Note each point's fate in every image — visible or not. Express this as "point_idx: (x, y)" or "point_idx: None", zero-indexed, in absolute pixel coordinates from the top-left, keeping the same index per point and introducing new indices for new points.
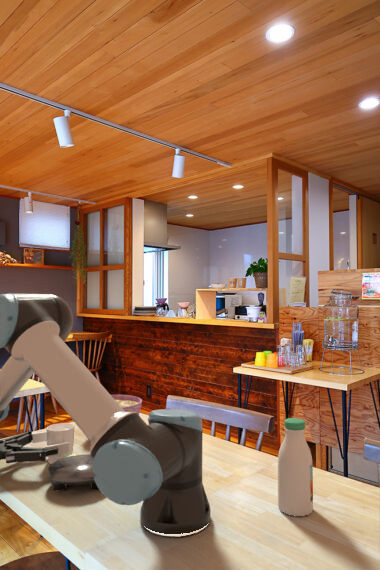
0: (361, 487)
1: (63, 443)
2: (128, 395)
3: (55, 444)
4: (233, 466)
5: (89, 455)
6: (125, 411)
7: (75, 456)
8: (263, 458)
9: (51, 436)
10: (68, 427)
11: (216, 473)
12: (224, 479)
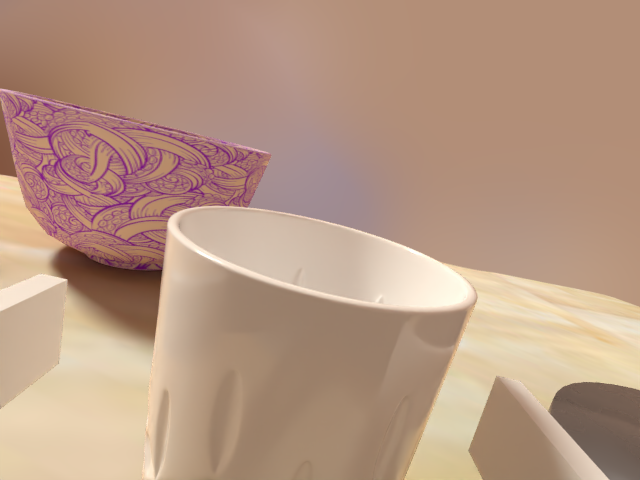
0: (608, 297)
1: (540, 412)
2: (140, 120)
3: (580, 475)
4: (518, 299)
5: (575, 410)
6: (263, 170)
7: (604, 469)
8: (484, 275)
9: (414, 386)
10: (260, 243)
11: (557, 322)
12: (593, 332)
